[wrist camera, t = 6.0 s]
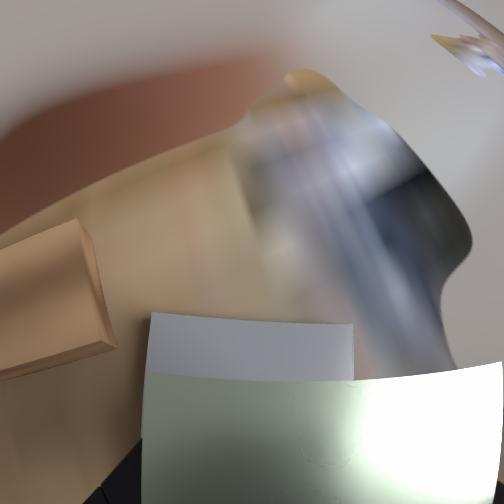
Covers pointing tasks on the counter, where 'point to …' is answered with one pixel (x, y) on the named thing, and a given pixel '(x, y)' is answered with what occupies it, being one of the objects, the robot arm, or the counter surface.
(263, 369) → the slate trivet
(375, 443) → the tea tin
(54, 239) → the tan flat block
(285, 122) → the counter surface
